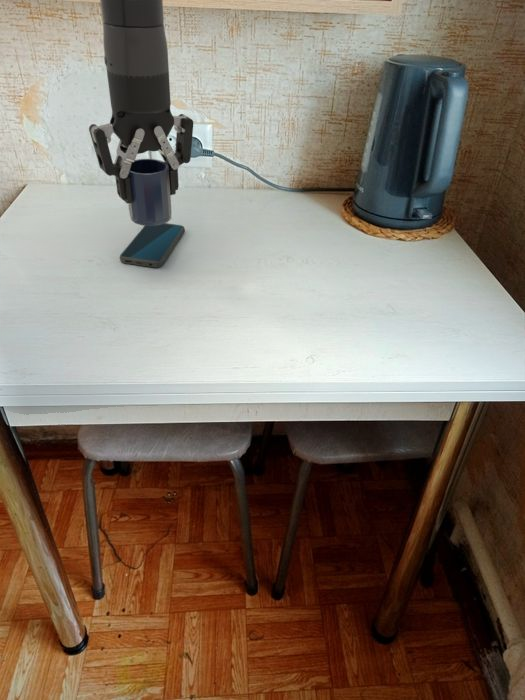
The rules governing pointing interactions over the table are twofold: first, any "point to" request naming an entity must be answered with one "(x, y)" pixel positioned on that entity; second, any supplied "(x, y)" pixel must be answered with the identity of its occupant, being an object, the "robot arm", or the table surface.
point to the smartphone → (152, 245)
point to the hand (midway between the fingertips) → (149, 196)
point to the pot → (150, 192)
